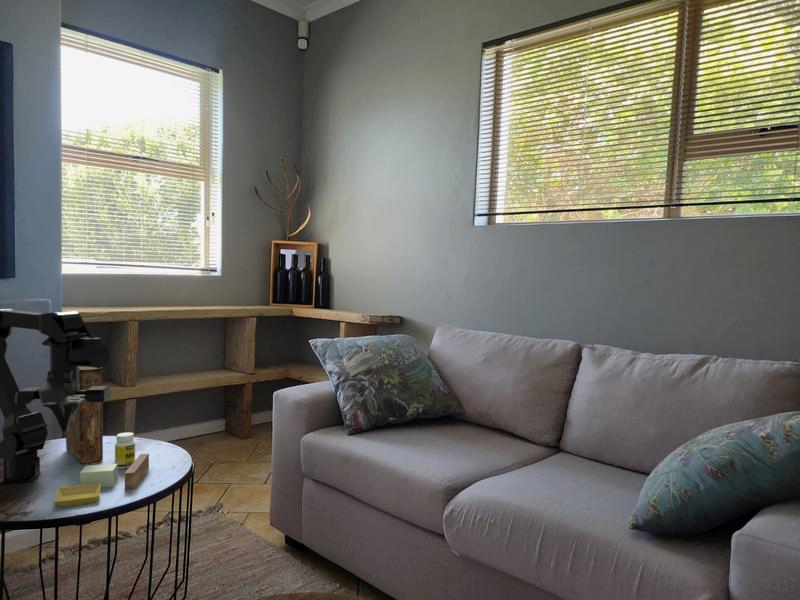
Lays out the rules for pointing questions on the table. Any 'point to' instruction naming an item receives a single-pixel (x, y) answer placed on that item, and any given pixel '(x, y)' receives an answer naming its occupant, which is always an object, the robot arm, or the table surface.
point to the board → (136, 471)
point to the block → (99, 475)
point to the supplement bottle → (125, 450)
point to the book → (87, 422)
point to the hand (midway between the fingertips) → (64, 430)
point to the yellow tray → (77, 494)
